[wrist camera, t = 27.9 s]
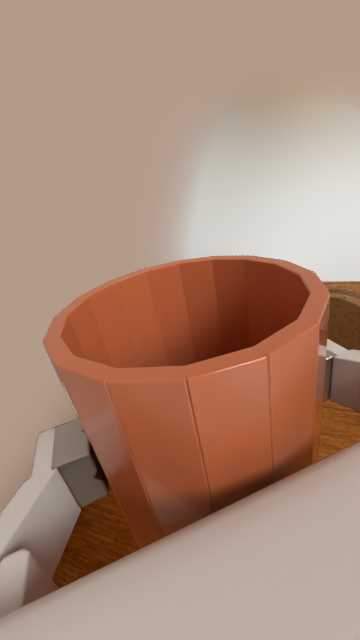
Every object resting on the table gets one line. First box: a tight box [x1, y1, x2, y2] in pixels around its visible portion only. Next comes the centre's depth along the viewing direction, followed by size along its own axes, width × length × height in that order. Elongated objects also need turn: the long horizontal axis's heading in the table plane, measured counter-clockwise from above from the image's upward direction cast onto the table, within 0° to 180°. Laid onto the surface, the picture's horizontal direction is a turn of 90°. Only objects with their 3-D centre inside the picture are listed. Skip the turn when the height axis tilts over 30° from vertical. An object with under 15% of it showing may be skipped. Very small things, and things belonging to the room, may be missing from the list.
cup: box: [43, 256, 330, 549], centre depth 9 cm, size 7×7×9 cm
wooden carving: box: [327, 289, 360, 350], centre depth 33 cm, size 16×5×10 cm, turn 31°
